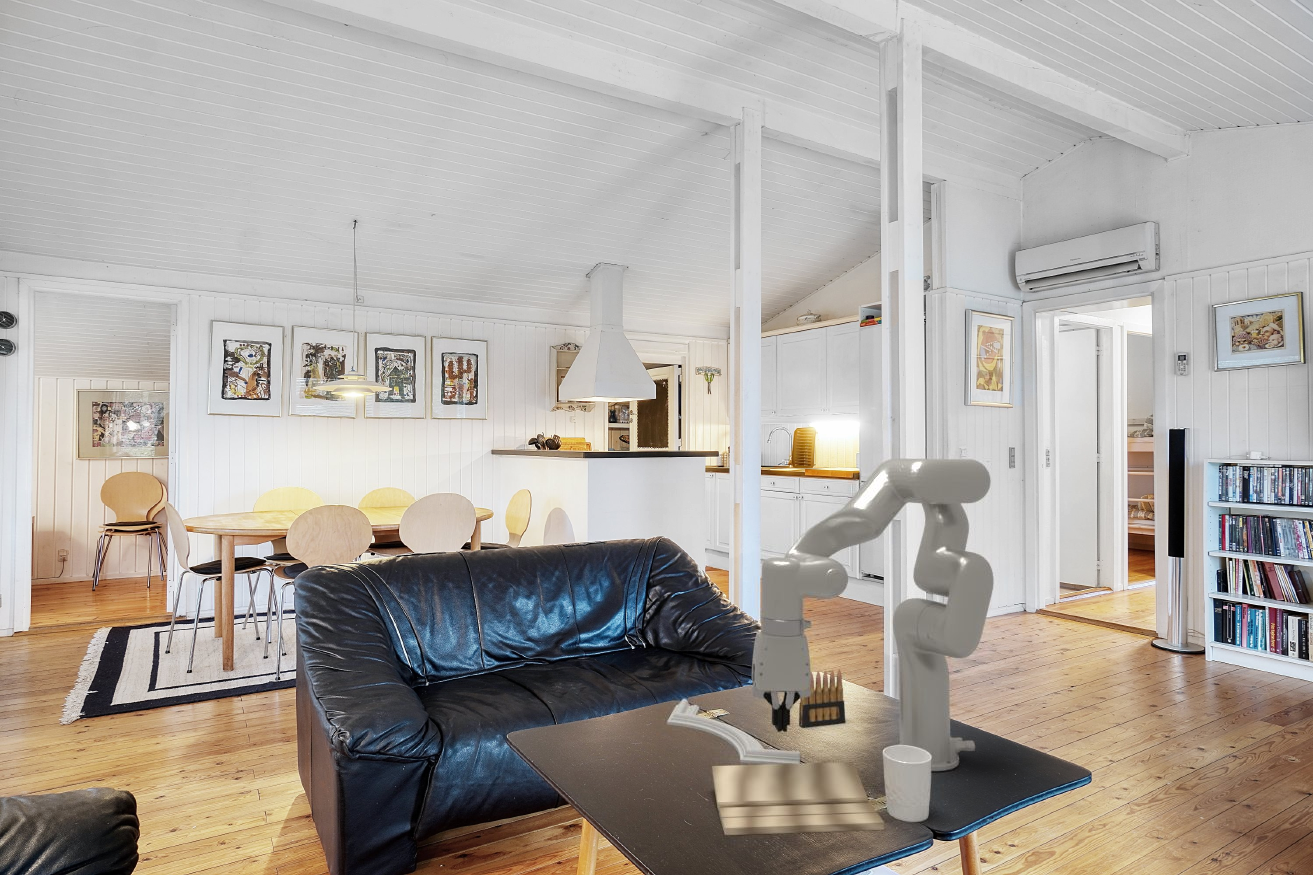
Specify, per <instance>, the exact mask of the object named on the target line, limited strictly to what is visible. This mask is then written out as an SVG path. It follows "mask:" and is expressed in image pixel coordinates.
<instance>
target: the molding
mask: <svg viewBox="0 0 1313 875" xmlns="http://www.w3.org/2000/svg"><path fill="white" fill-rule="evenodd" d="M698 710H699V711H700V707H699V705H697V704H692V705H690V704H689V701H688V700H687V699H686V698H682V699H681V701H680V702H679V703H678V704H676V705H675V706H674V708H673V710H672V712H671V714H670V716H668V717H669V718H668V719H667V720H666V725H669V726H677V727H678V726H680V727H685V728H690V729H694V730H699V731H703V732H706V733H709V734H711V735H714V736H716V737H718V738H720V739H722V740H724V741H725V742H727V743H728V744H730V745H731V746H732V747H733V748H734V749H735V751H737V754H738V755H739V763H741V764H754V765H767V764H800V763H801V752H800V751H796V750H795V751H794V750H782V749H781V750H780V749H768V748H767V749H765V748H764V747H763V746H762V744H761V743H760V742H759V741H758V740H757V739H755V738H754V737H753V736H751V735H750V734H748V733H746V732H745V731H743V730H741V729H739V728H737V727H735V726H733V725H729V724H727V723H724V722H722V721H718V720H715V719H712V718H709V717H705V716H701V715H697V714H698V712H699V711H698Z"/></svg>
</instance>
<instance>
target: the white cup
mask: <svg viewBox="0 0 1313 875" xmlns="http://www.w3.org/2000/svg"><path fill="white" fill-rule="evenodd" d="M882 760H883V762H882V763H883V777H884V778H883V779H884V792H885V796H886V797H885V799H886V811H887V813H888V814H889V816H891V817H892V818H894V819H896V820H899V821H902V822H909V823H916V822H918V823H919V822H923V821H925V820H927V819H928V818H929V814H930V801H931V787H932V786H931V784H932V771H931V760H932V756H931V754H930V753H929V752H927V751H925V750H923V749H921V748H917V747H913V746H907V745H897V744H895V745H890V746H887V747H885V748H884V749H883V750H882Z"/></svg>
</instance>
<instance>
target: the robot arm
mask: <svg viewBox="0 0 1313 875" xmlns="http://www.w3.org/2000/svg"><path fill="white" fill-rule="evenodd" d="M990 487H991V476H990V472H989V470H988V469H987V468H986V466H985V465H984V464H983V463H982V462H980V461H978V460H975V459H968V458H967V459H966V458H959V459H957V458H930V459H929V458H890V459H887V460H884V461H883V462H882V463H880V465H878V467H876V468H875V470H874V471H873V472H872V473H871V475H870V476H869V477H868V478H867V479H866V480H865V482H864V483H863V484H862V486H860V488H859V489H858V490H857V491H856V492H855V494H854V495H853V496H852V497H851V498H850V499H849V501H848V502H847V503H846V505H845V506H843V507H842V508H840V509H839V510H838V511H835V512H833V513H832V514H831V515H829V516H828V517H825V518H824V519H823V520H820V521H819V522H818V523H816V524H814V525H813V526H812V527H810V528H809V529H807V531H805V532H804V533H803V534H802V535H801V536H800V537H799V538H798V539H797V541H795V543H794V544H793V545H792V546H791V547H790V549H789V550H788V551H787V552H786V554H785V555H784V557H781V556H780V557H769V558H766V559H765V560H764V561H763V562H762V564H761V565H762V566H761V598H760V599H761V604H760V606H761V607H760V608H761V611H760V613H761V614H760V616H761V617H760V619H761V620H760V631H758V632H756V635H755V638H754V644H753V651H752V652H753V653H752V664H751V682H752V687H751V691H750V692H751V694H752V696H753V697H755V698H760V699H764V700H766V702H767V703H768V704H769V705H770V706H771V723H772V724H771V725H772V726H774V728H775V729H776V731H777V732H778V733H781V732H783V733H787V732H788V726H790V725H791V709H793V706H794V705H795V704H796V703H797V702H798V701H799V700H800V698H805V697H809V696H811V690H810V685H811V672H812V671H811V670H812V669H811V660H810V650H809V648H810V647H809V644H808V638H807V634H805V630H807V629H811V628H812V622H811V620H807V619H805V618H804V599H805V598H807V599H808V598H810V599H818V600H831V599H834V598H837V597H838V596H839V597H840V595H842V593H843V592H845V590H846V588H847V586H848V583H849V575H848V572H847V570H846V568H845V567H844V565H843V564H842V563H840V562H839V561H837V560H836V559H833V558H831V557H832V555H834V554H836V553H838V552H840V551H842V550H844V549H846V548H849V547H853V546H858V545H861V544H865V543H867V542H870V541H873V540H875V539H877V538H879V537H880V536H881V535H882V534H883V533H884V531H885V530H886V529H887V527H888V526H890V524H891V522H893V520H894V519H895V517H896V516H897V515H898V514H899V513H900V511H901V510H902V509H903V507H905V506H906V504H909V503H911V504H913V503H914V504H921V506H922V508H923V512H924V519H925V521H924V528H923V532H922V536H921V540H920V544H919V546H918V547H919V548H918V551H917V555H916V560H915V563H914V568H913V577H912V578H913V581H914V584H915V585H916V587H917V588H918V589H920V590H921V591H923V592H925V593H928V594H931V595H936V596H940V597H944V598H945V597H946V598H947V602H946V603H942V602H938V601H934V600H930V599H926V598H921V597H920V598H919V597H914V598H908V599H904V600H902V602H899V604H898V605H897V607H896V608H895V610H894V613H893V615H892V616H893V618H892V628H893V634H894V639H895V642H896V649H897V657H898V658H897V659H898V701H899V702H898V703H899V705H898V706H899V708H898V709H899V710H898V711H899V714H898V715H899V743H897V744H896V745H907V746H913V747H917V748H921V749H923V750H925V751H927V752H929V753H930V754H931V756H932V760H931V772H942V771H943V772H945V771H949V770H953V769H954V768H956V767H957V766H959V763H960V757H959V753H960V752H961V751H962V752H963V751H965V752H975V751H976V744H975V741H974V740H963V738H962V737H952V736H951V714H950V712H951V711H950V710H951V708H950V705H951V704H950V702H951V701H950V700H951V699H950V697H951V696H950V670H949V665H948V661H947V658H946V657H949V658H953V659H965V658H967V657H970V656H971V655H972V654H973V653H975V651H976V650H977V648H978V647H979V644H980V642H981V639H982V635H983V631H984V627H985V623H986V619H987V616H988V612H989V607H990V603H991V600H992V595H993V590H994V582H995V581H994V572H993V569H992V566H991V565H990V563H989V561H988V560H987V559H986V558H985V557H984V556H982V555H981V554H979V553H976V552H972V551H968V550H966V547H967V544H968V543H967V542H968V540H969V533H970V532H969V531H970V523H969V518H968V515H967V513H966V511H965V509H964V507H963V504H973V503H976V502H979V501H980V500H982V499H984V497H986V495H987V494H988V492H989V490H990ZM779 693H783V696H782V702H781V704H780V700H779V698H780V697H779Z"/></svg>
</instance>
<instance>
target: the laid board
mask: <svg viewBox="0 0 1313 875" xmlns="http://www.w3.org/2000/svg"><path fill="white" fill-rule="evenodd" d="M718 816H719V819H720V823H721V827H722V830H723V833H724V836H737V835H738V836H740V835H741V836H744V835H766V834H767V835H768V834H769V835H771V834H793V833H794V834H799V833H801V834H802V833H826V832H829V833H830V832H833V833H834V832H854V831H855V832H858V831H859V832H860V831H861V832H862V831H882V830H883V831H884V830H885V821H884V820H883V819H882V818H881V816H880V814H879V813H878V811H876V809H875V808H874V806H873V805H872V804H871V803H870V802H869V803H852V804H822V805H792V806H761V807H731V808H719V811H718Z"/></svg>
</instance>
